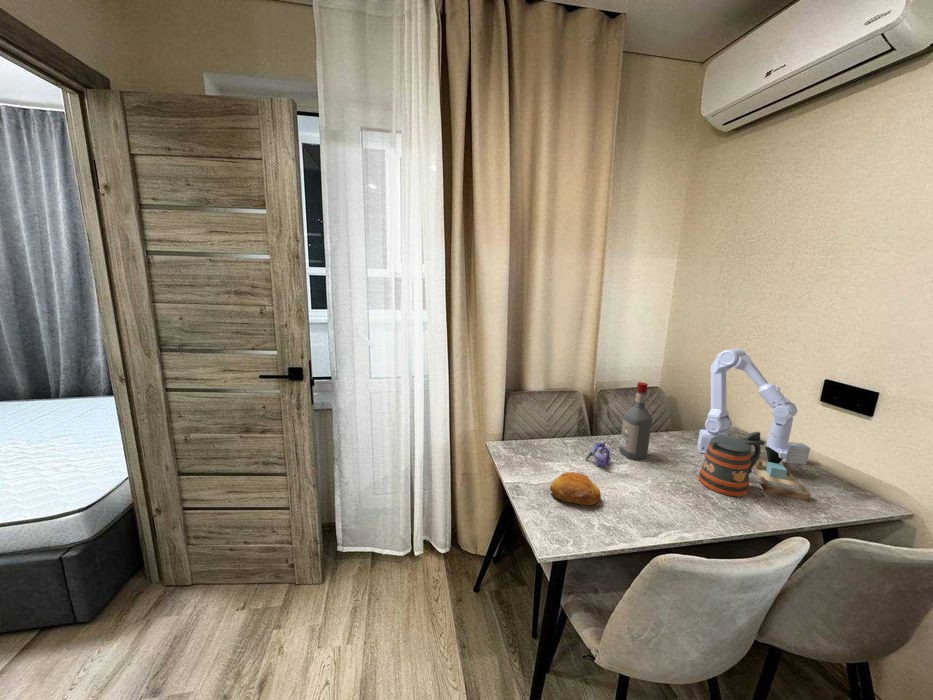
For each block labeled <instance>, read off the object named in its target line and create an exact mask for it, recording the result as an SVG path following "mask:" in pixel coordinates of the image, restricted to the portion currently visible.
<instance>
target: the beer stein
mask: <svg viewBox="0 0 933 700" xmlns="http://www.w3.org/2000/svg"><path fill="white" fill-rule="evenodd" d="M765 444H766V442H765V441H763V440H761V432H760V431H754V432H750V433H748V434H747V435H746V436H745V437H742V436H741V437H737V438H735V437H732V436H731V437H730V436H728V435H727V436H716V437H713V438H711V441H710V442H709V443H708V447H707V450H706V453H704V454H705V456H704V457H705V458H704V460H703V464H702V465H701V466H700V469H699V470H700V471H699V474H698V480H699V482H700V484H702V485H703V486H704V487H706V488H708V489H709V490H712V492H715V493H718V494H721V495H725V496H728V497H742V496H745V495H746V494H748V493H749V486H750V477H749V476H750V474H751V473H752V472H753V471H752V470H753V469H752V468H753V466H754V464H755V463H756V462H757V460H758V458H760V455H761V450H762V449H761V446H765ZM752 446H754V452H753V453H752V452H751V451H752Z"/></svg>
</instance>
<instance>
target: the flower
mask: <svg viewBox="0 0 933 700" xmlns="http://www.w3.org/2000/svg"><path fill="white" fill-rule="evenodd" d="M606 443H607V442H605V441H603V442H601V443H600V442H596V443H595V444H594V446H593V447H592V448H591V450H590V451H589V452H588V453H587V454H586V456H585V461H586V462H588V460H589V458H590V457H594V461H595V464H596V465H597V466H598V467H600V468H603V469H604V468H605V467H608V466H610V461H611V458H612V457H611V455H610V453H611V450H610V448H609V447H606Z"/></svg>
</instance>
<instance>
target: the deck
mask: <svg viewBox="0 0 933 700" xmlns="http://www.w3.org/2000/svg"><path fill="white" fill-rule="evenodd" d="M767 462H768V459H762V458H760V457H759V458H758V460H757V462H756V463H755V464H754V466H753V467H752V468H753V470H754V471H755V473H756V475H757V477H758V478H759V479H760V481H761V483H759V484H760V486H761V488H762V489H763V491H764V493H765V494H766V493H767V494H770V495H775V496H778V497H779V496H780V497H785V498H790V499H793V500H794V499H795V500H799V501H804V502H808V503H809V502H810V500H811V496H812V495H811V493H810V492H809V491H808V490H807V489H806V487H805V486H804V485H803V484H800V483H799V481H798V480H797V479H796V477H795V476H794V475H793V473H791V472H792V466H791V465H789V464H790V463H787V462H783V461H782V462H780V463H779V464H782V465H783V466H784V467H785V468H786V470H787V474H786V478H785V479H780V478H775V477H770V476H769V474H768V473H767V472H766V466H767ZM768 481H769V482H774V483H779V484H783V485H789V486H794V487H798V488H799V490H800V491H798V490H793V489H788V488H784V487H779V486H774V485H770V484H769V482H768Z"/></svg>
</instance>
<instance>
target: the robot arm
mask: <svg viewBox="0 0 933 700" xmlns="http://www.w3.org/2000/svg"><path fill="white" fill-rule="evenodd" d="M732 368H734V369H737V370H741V371H743V372H744V373H745V374H746V375H747V376H748V377H749V378H750V379H751V380H752V382H753V383H754V384H755V385H756V386H757V387H758V394H759V395H760V396H761V398H762V399H763V400H764V402H766V404H767V405H768V406H769V407H770V409H771V415H772V417H773V418H772V420H771V425H770V430H769V433H768V437H767V440H766V443H765V444H766V446H767V447H765V448H764V449H765V452H766V456H767V460H768V462H772V463H777V464H779V463H782V462H783V461H782V460H783V459H786V458H787V450H791V448H790V447H789V446H787V445H788V442H790V437H791V436H790V435H791V432H792V427H793V421H794V417H796V415H797V413H798V407H797V406H796V404H795V403H793V402H791V401H790V400H789V399H790V398H786V397H785V396H784V394H783V393H782V391H781V388H780V387H779V386H776V384H772V383H769V382H768V381H767V379H766V378H765V376H764V375H763V374H762V372H761V371H760V369H759V368H758V367H757V365H755V363H754V362H753V360H752V358H751V356H750V355H748V354H747V353H746V351H745V350H744V349H743V348H738V347H736V348H732V349H725V350H723V351H721V352H719V353H718V354H716V358H715V359H714V360H713V363H712V364H711V366H710V410H709V412H708V414H707V416H706V417H707V418H706V421H705V422H704V426H705V429H700V430H699V433H698V434H699V435H698V438H697V444H696V447H697V449H698V452H699V453H701V454H705V453H706V450H707V447H708V443H709V442H710V441H711V438H713V437H716V436H727V437H728V430H729V429H730V428H731V427H732V420H731V418H730V413H729V411H728V409H727V371H729V370H730V369H732Z"/></svg>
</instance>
